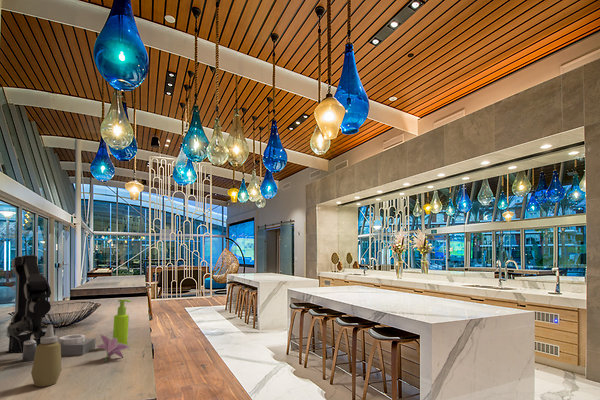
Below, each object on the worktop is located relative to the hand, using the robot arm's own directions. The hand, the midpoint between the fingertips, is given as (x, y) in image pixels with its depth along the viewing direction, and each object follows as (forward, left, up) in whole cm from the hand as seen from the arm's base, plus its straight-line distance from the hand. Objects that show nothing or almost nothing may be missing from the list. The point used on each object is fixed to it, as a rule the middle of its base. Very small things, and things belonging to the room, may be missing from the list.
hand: (30, 354), depth 151 cm
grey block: (0, 0, -2) cm, 2 cm away
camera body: (+10, +11, -2) cm, 15 cm away
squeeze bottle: (+21, -30, -2) cm, 37 cm away
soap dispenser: (+27, +19, -2) cm, 33 cm away
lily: (+31, -3, -2) cm, 31 cm away
